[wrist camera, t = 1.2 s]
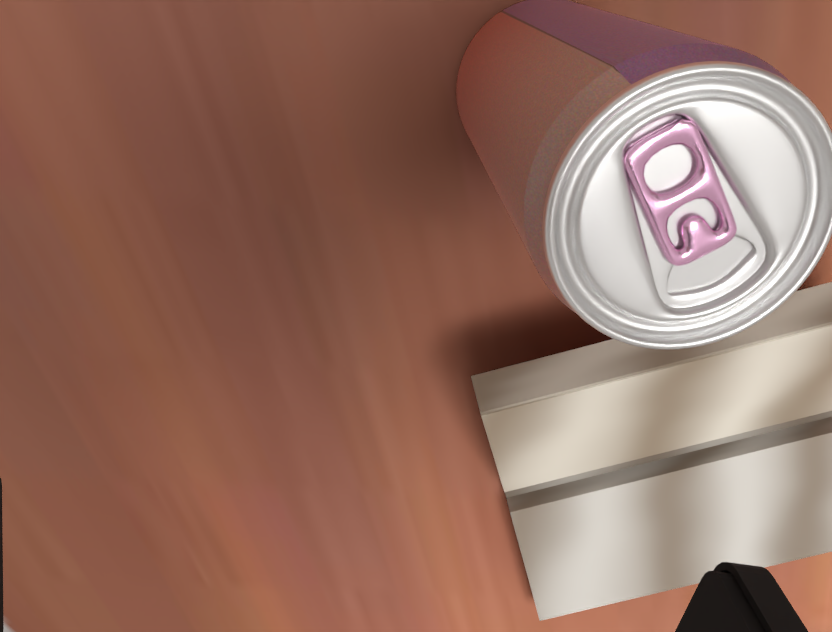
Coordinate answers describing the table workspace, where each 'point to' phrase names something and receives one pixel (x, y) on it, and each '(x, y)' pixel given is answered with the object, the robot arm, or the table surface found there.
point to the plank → (655, 394)
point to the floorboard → (676, 516)
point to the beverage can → (648, 170)
